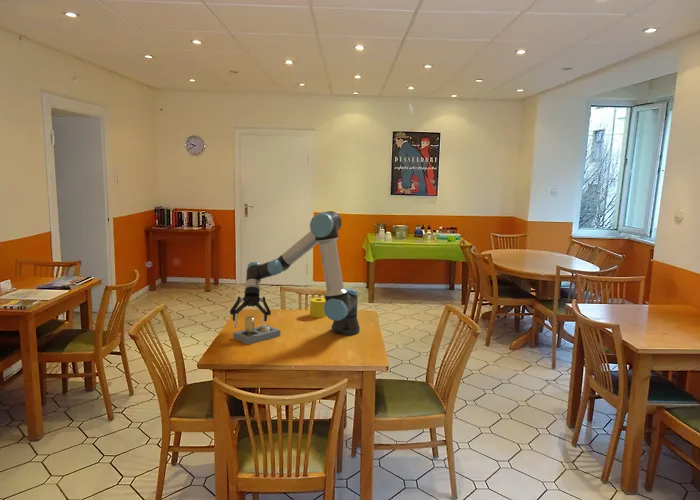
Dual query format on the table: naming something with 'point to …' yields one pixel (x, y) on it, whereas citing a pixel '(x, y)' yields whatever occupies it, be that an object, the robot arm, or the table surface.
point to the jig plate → (256, 335)
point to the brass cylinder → (249, 326)
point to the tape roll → (317, 307)
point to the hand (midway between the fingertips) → (249, 326)
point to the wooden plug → (265, 329)
